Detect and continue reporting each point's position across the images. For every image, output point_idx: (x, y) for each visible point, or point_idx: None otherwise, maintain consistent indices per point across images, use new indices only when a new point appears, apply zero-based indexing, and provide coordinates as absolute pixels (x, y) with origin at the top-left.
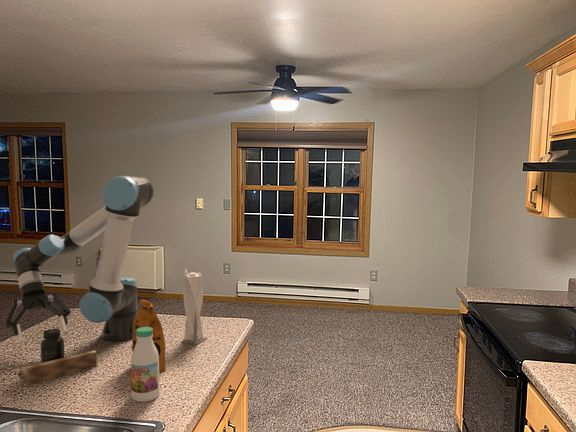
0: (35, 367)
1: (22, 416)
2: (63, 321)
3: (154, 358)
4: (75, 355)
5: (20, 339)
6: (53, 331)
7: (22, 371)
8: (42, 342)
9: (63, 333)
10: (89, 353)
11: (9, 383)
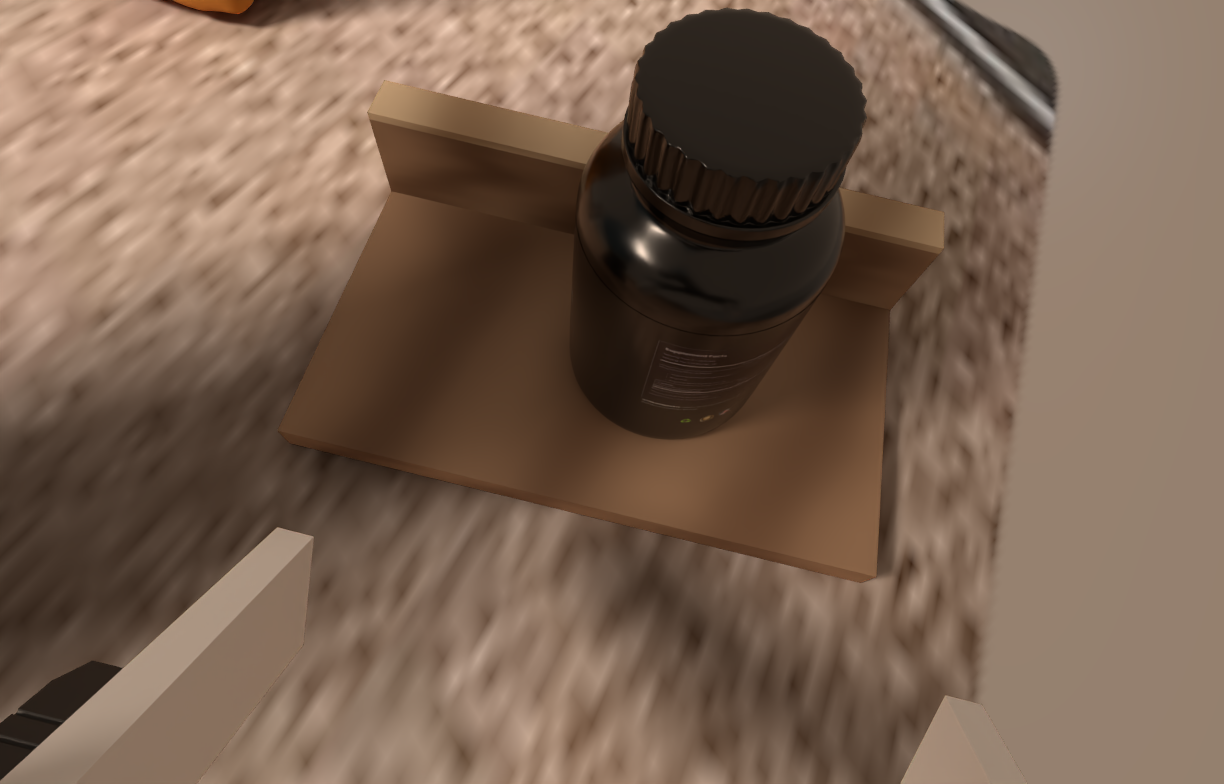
0: (883, 204)
1: (991, 23)
2: (142, 676)
3: None
4: (548, 144)
5: (990, 730)
6: (745, 50)
7: (878, 485)
8: (840, 197)
9: (291, 643)
10: (445, 95)
11: (980, 417)
